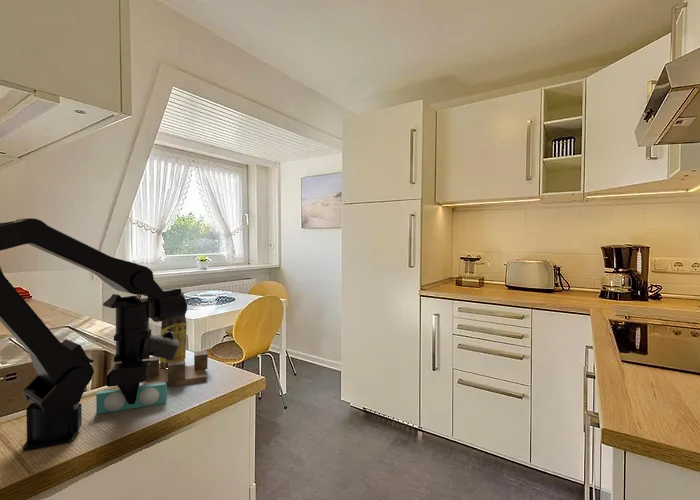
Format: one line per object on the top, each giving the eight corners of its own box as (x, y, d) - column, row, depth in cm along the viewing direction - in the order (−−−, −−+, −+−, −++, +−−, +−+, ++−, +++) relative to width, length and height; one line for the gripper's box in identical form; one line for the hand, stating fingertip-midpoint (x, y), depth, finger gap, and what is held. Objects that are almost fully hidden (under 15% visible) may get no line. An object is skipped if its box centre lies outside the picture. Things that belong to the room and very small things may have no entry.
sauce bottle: (166, 372, 91) (166, 295, 90) (155, 366, 94) (155, 292, 94) (190, 365, 96) (191, 292, 95) (179, 360, 100) (179, 289, 99)
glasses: (96, 414, 69) (96, 394, 69) (104, 397, 76) (104, 379, 76) (165, 403, 74) (165, 384, 74) (167, 388, 81) (167, 371, 81)
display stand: (142, 390, 80) (142, 369, 79) (145, 376, 88) (145, 356, 88) (208, 381, 86) (208, 360, 86) (206, 368, 94) (206, 349, 94)
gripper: (176, 334, 67) (176, 415, 67) (177, 314, 83) (176, 379, 84) (105, 340, 62) (105, 428, 62) (121, 317, 79) (121, 386, 79)
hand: (132, 402), depth 72 cm, fingers closed on glasses
